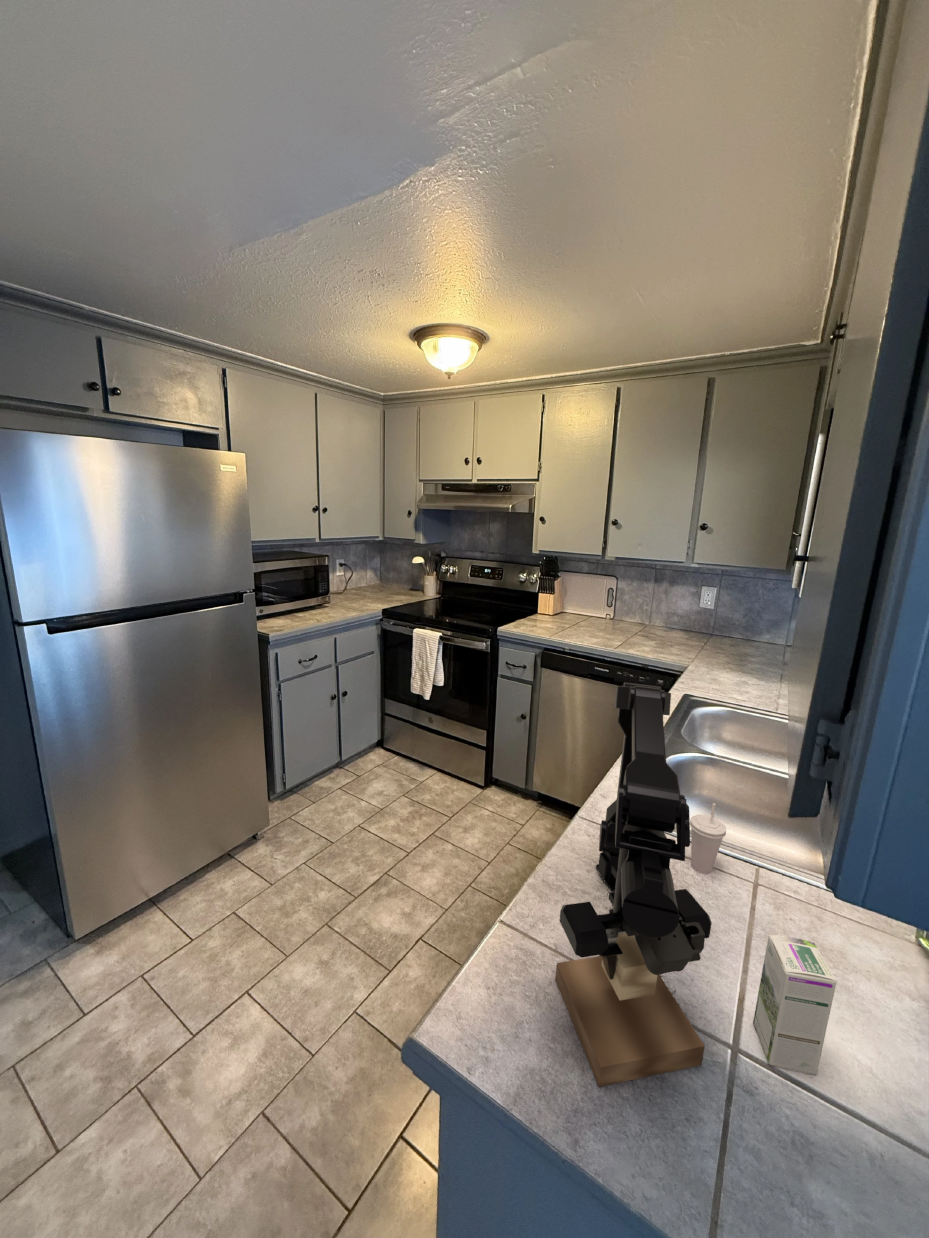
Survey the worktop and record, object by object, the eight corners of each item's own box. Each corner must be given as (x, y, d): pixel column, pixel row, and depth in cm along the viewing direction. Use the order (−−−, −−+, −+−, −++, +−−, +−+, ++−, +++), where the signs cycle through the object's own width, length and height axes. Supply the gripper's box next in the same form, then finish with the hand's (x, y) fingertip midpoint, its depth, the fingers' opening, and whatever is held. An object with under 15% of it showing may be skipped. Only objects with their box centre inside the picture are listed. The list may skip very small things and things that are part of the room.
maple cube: (634, 960, 68) (638, 930, 67) (654, 994, 63) (659, 962, 62) (601, 965, 67) (605, 935, 66) (619, 1000, 62) (623, 968, 61)
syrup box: (818, 1077, 60) (841, 981, 57) (766, 1065, 61) (786, 970, 58) (797, 1031, 66) (817, 940, 63) (750, 1020, 67) (767, 931, 64)
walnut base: (641, 965, 75) (643, 949, 74) (701, 1064, 61) (704, 1045, 61) (555, 979, 72) (556, 962, 71) (598, 1086, 58) (601, 1067, 58)
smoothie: (725, 879, 93) (736, 814, 91) (692, 878, 94) (702, 813, 91) (709, 856, 100) (719, 795, 97) (678, 855, 100) (687, 793, 97)
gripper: (603, 935, 52) (590, 1050, 56) (752, 912, 56) (732, 1021, 59) (562, 863, 63) (553, 963, 66) (690, 848, 67) (676, 944, 70)
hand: (628, 973), depth 65 cm, fingers closed on maple cube, 5 cm apart
